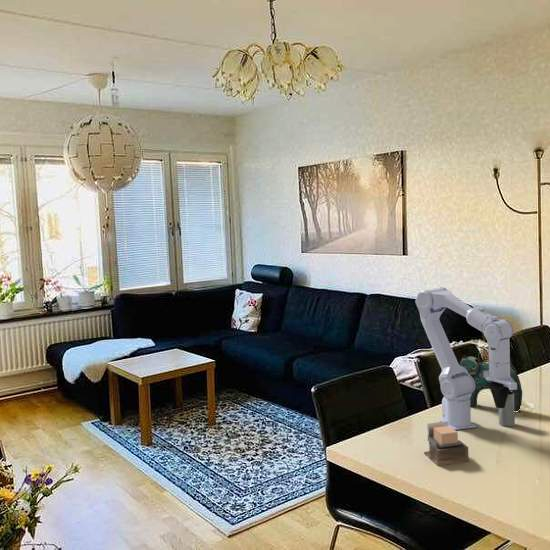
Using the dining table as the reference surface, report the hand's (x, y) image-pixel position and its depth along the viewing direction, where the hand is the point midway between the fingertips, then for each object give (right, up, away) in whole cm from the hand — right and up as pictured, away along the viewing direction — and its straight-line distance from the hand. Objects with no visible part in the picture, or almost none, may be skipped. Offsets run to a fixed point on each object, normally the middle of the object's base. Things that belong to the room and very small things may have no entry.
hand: (500, 407), depth 171 cm
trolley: (-19, -10, -9) cm, 23 cm away
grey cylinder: (+7, -8, +12) cm, 16 cm away
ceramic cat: (+8, -7, +28) cm, 30 cm away
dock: (-19, -11, -10) cm, 24 cm away
